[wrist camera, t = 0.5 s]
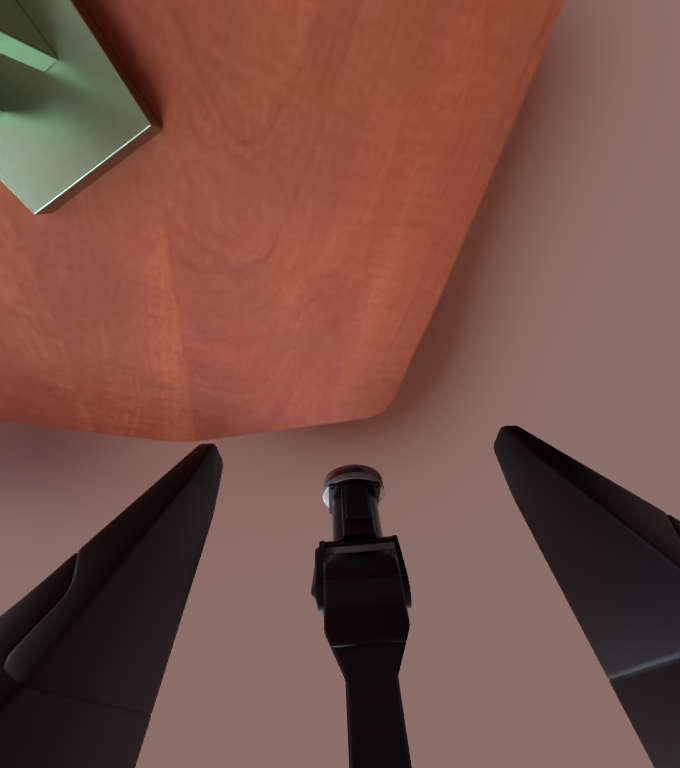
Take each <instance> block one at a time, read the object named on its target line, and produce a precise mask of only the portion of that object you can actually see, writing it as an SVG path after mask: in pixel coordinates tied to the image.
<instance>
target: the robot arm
mask: <svg viewBox="0 0 680 768" xmlns="http://www.w3.org/2000/svg"><path fill="white" fill-rule="evenodd" d="M494 451H495V454H496V456H497V459H498V461H499V464H500V466H501V469H502V471H503V474H504V476H505V479H506V481H507V484H508V486H509V489H510V491H511V493H512V495H513V497H514V500H515V502H516V504H517V505H518V507H519V509H520V511H521V513H522V515H523V517H524V519H525V521H526V523H527V525H528V526H529V529H530V530H531V532H532V534H533V536H534V538H535V540H536V542H537V544H538V546H539V548H540V549H541V551H542V553H543V555H544V557H545V559H546V561H547V563H548V565H549V567H550V569H551V571H552V572H553V574H554V576H555V578H556V580H557V582H558V584H559V586H560V588H561V590H562V592H563V593H564V595H565V597H566V599H567V601H568V603H569V605H570V607H571V609H572V611H573V612H574V614H575V616H576V618H577V620H578V622H579V624H580V626H581V628H582V630H583V632H584V634H585V635H586V637H587V639H588V641H589V643H590V645H591V647H592V649H593V651H594V653H595V654H596V656H597V658H598V660H599V662H600V664H601V666H602V668H603V670H604V672H605V673H606V676H607V677H608V679H610V680H609V682H610V684H611V686H612V687H613V689H614V691H615V693H616V695H617V697H618V699H619V701H620V703H621V704H622V706H623V708H624V710H625V712H626V714H627V716H628V718H629V720H630V722H631V724H632V726H633V727H634V729H635V731H636V733H637V735H638V737H639V739H640V741H641V743H642V744H643V746H644V749H645V750H646V752H647V754H648V756H649V757H650V760H651V762H652V764H653V766H654V767H655V768H680V521H679V520H678V519H675V518H674V517H672V516H671V515H666V513H665V512H664V511H662V510H660V509H658V508H657V507H655V506H653V505H652V504H650V503H648V502H647V501H645V500H643V499H641V498H640V497H638V496H636V495H635V494H633V493H631V492H630V491H628V490H626V489H624V488H623V487H621V486H619V485H618V484H616V483H614V482H612V481H611V480H609V479H607V478H605V477H604V476H602V475H600V474H599V473H597V472H595V471H594V470H592V469H590V468H588V467H586V466H585V465H583V464H582V463H580V462H578V461H576V460H575V459H573V458H571V457H570V456H568V455H566V454H564V453H563V452H561V451H559V450H558V449H556V448H554V447H552V446H551V445H549V444H547V443H546V442H544V441H542V440H541V439H539V438H537V437H535V436H533V435H532V434H530V433H528V432H527V431H525V430H523V429H522V428H520V427H518V426H504V427H502V428H501V429H500V431H499V433H498V436H497V438H496V440H495V443H494ZM222 468H223V462H222V458H221V456H220V454H219V452H218V449H217V447H216V445H215V444H201V445H199V446H197V447H196V448H195V449H194V450H193V451H192V452H190V453H189V454H188V455H187V456H186V457H185V458H184V459H182V460H181V461H180V462H179V463H178V464H177V465H176V466H174V467H173V468H172V469H171V470H170V471H169V472H168V473H166V474H165V475H164V476H163V477H162V478H161V479H160V480H158V481H157V482H156V483H155V484H154V485H153V486H152V487H150V488H149V489H148V490H147V491H146V492H145V493H144V494H142V495H141V496H140V497H139V498H138V499H137V500H136V501H135V502H133V503H132V504H131V505H130V506H129V507H128V508H126V509H125V510H124V511H123V512H122V513H121V514H120V515H118V516H117V517H116V518H115V519H114V520H113V521H112V522H110V523H109V524H108V525H107V526H106V527H105V528H104V529H102V530H101V531H100V532H99V533H98V534H97V535H96V536H94V537H93V538H92V539H91V540H90V541H89V542H88V543H87V544H85V545H84V546H83V547H82V548H81V549H80V550H79V551H78V553H75V554H74V555H73V556H71V557H70V558H69V559H68V560H67V561H66V562H65V563H63V564H62V565H61V566H60V567H59V568H58V569H57V570H55V571H54V572H53V573H52V574H51V575H50V576H48V577H47V578H46V579H45V580H44V581H43V582H41V583H40V584H39V585H38V586H37V587H36V588H34V589H33V590H32V591H31V592H29V593H28V594H27V595H26V596H25V597H23V598H22V599H21V600H20V601H19V602H17V603H16V604H15V605H14V606H12V607H11V608H10V609H9V610H7V611H6V612H5V613H4V614H2V615H1V616H0V768H135V766H136V763H137V760H138V756H139V753H140V750H141V747H142V744H143V740H144V737H145V734H146V731H147V728H148V724H149V721H150V717H151V713H152V710H153V707H154V704H155V701H156V698H157V695H158V691H159V688H160V685H161V682H162V679H163V675H164V672H165V669H166V666H167V662H168V659H169V656H170V653H171V649H172V647H173V643H174V640H175V637H176V633H177V630H178V627H179V624H180V621H181V618H182V614H183V611H184V608H185V605H186V601H187V598H188V595H189V592H190V588H191V585H192V582H193V579H194V576H195V573H196V569H197V566H198V563H199V560H200V557H201V553H202V550H203V547H204V543H205V540H206V537H207V534H208V531H209V528H210V524H211V521H212V517H213V514H214V509H215V504H216V499H217V494H218V489H219V484H220V479H221V474H222ZM328 490H329V511H330V513H331V514H332V517H333V541H329V542H324V541H320V542H319V543H320V544H319V548H317V549H316V550H315V568H314V576H313V582H312V589H311V594H312V596H313V597H314V598H315V600H316V604H317V606H318V613H319V615H324V631H325V635H326V638H327V639H328V642H329V644H330V647H331V649H332V651H333V653H334V655H335V658H336V660H337V662H338V664H339V667H340V669H341V671H342V673H343V676H344V678H345V682H346V702H347V725H348V748H349V768H412V767H411V760H410V754H409V747H408V740H407V734H406V727H405V720H404V713H403V707H402V700H401V693H400V686H399V679H398V674H399V670H400V666H401V661H402V657H403V653H404V649H405V645H406V640H407V636H408V632H409V626H410V624H409V617H408V611H407V608H411V592H410V585H409V580H408V575H407V571H406V567H405V564H404V560H403V556H402V553H401V549H400V545H399V542H398V538H397V535H392V536H390V537H383V535H382V530H381V523H380V517H379V511H378V503H379V497H380V490H381V483H380V482H378V481H373V482H349V483H331V484H329V485H328Z"/></svg>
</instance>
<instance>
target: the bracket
mask: <svg viewBox="0 0 680 768" xmlns="http://www.w3.org/2000/svg"><path fill="white" fill-rule="evenodd" d="M160 131H162V128H161V126H160V125H159V123H158V122H157V120H156V118H155V117H154V115H153V114H152V112H151V110H150V109H149V107H148V106H147V104H146V103H145V101H144V99H143V98H142V96H141V95H140V93H139V91H138V90H137V88H136V87H135V85H134V84H133V82H132V80H131V79H130V77H129V76H128V74H127V72H126V71H125V69H124V68H123V66H122V65H121V63H120V61H119V60H118V58H117V57H116V55H115V53H114V52H113V50H112V49H111V47H110V46H109V44H108V42H107V41H106V39H105V38H104V36H103V34H102V33H101V31H100V30H99V28H98V27H97V25H96V23H95V22H94V20H93V19H92V17H91V16H90V14H89V12H88V11H87V9H86V8H85V6H84V4H83V3H82V1H81V0H0V180H1V181H2V182H3V183H4V184H5V185H6V186H7V187H8V188H9V189H10V190H11V191H12V192H13V193H14V194H15V195H16V196H17V197H18V198H19V199H20V200H21V201H22V202H23V203H24V204H25V205H26V206H27V207H28V208H29V209H30V210H31V212H32V213H33V214H48V213H52V212H54V211H55V210H56V209H58V208H59V207H60V206H62V205H63V204H64V203H66V202H67V201H68V200H70V199H71V198H72V197H74V196H75V195H76V194H78V193H79V192H80V191H82V190H83V189H84V188H86V187H87V186H88V185H90V184H91V183H92V182H94V181H95V180H96V179H98V178H99V177H100V176H102V175H103V174H104V173H106V172H107V171H108V170H110V169H111V168H112V167H114V166H115V165H116V164H118V163H119V162H120V161H122V160H123V159H124V158H126V157H127V156H128V155H130V154H131V153H132V152H134V151H135V150H136V149H138V148H139V147H140V146H142V145H143V144H144V143H146V142H147V141H148V140H150V139H151V138H152V137H154V136H155V135H156V134H158V133H159V132H160Z"/></svg>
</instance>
